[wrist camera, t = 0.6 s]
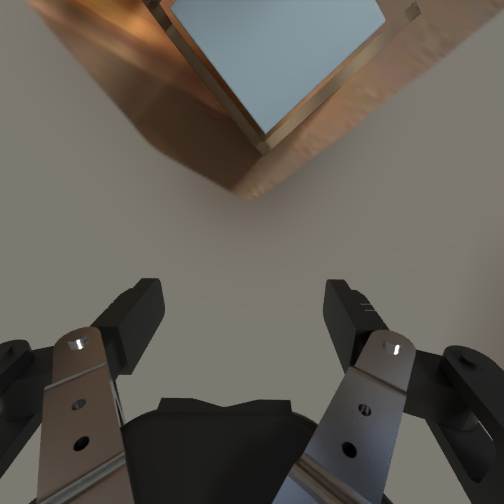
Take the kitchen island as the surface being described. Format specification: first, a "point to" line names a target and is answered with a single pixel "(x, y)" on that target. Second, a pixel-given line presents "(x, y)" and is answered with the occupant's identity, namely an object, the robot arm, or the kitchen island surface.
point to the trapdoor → (276, 45)
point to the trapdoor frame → (337, 81)
